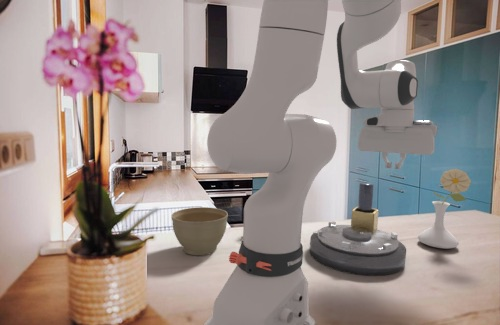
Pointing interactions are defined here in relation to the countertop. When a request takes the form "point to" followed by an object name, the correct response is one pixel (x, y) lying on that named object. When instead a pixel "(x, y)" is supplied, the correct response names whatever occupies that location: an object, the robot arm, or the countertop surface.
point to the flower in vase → (437, 233)
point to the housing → (358, 260)
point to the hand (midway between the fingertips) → (392, 168)
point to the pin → (365, 197)
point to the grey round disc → (359, 236)
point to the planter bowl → (199, 229)
